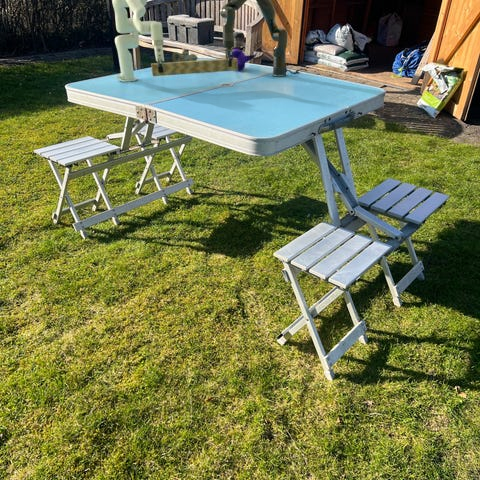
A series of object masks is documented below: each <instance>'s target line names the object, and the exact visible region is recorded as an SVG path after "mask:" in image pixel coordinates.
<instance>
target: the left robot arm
mask: <svg viewBox="0 0 480 480" xmlns="http://www.w3.org/2000/svg"><path fill="white" fill-rule="evenodd" d="M111 2H112V7H113V11H114V18H115V28H116V31H117V33H119V34H120V35H117V36H115V38H114V43H115V48H116V50H117V51H116V52H117V56H118V62H119V67H120V68H119V69H120V74H119V75H115V76H114V78H115V79H117V80H119V81H120V82H123V83H126V82H128V83H130V82H135V81H137V79H138V78H137V77H135V71H134V63H133V55H132V53H131V52H130V50H129V49H136V48H138V47H139V45H140V34H141V35H149V34H150V37H151V45H152V46H153V48H154V56H155V61H156V63H158V72H159V73H163V65H162V63H165V57H164V48H163V46H164V43H165V42H164V33H163V24H162V22H160V21H156V20H144V21H141V18H142V17H143V16H145V14H146V12H147V11H146V10H147V9H146V7H145V6H147V3H148V0H111ZM126 8H129V9H130V10H131V12H132V13H133V15H132V17H129V16H128V11H127V9H126ZM128 17H129V18H128Z"/></svg>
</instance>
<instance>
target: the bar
mask: <svg viewBox="0 0 480 480" xmlns="http://www.w3.org/2000/svg"><path fill="white" fill-rule="evenodd" d="M230 59H231V58H230ZM162 65H163V73H159V72H158V63H157V62H153V63H150V66H151V76H152V77H164V76H177V75H178V76H179V75H193V74H206V73H222V72H235V71H236V72H237V71H238V59H237V58H233V60H232V67H229V61H228V59H226V58H217V59H216V58H215V59H201V60H200V59H199V60H198V59H197V60H196V61H182V62H174V61H169V62H162Z"/></svg>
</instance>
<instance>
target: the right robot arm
mask: <svg viewBox="0 0 480 480" xmlns="http://www.w3.org/2000/svg"><path fill="white" fill-rule="evenodd" d="M247 1H248V0H230V1H229V2H227V3H226V4H224V5H223V6H222V7H221V9H220V12H219V13H220V17H221V18H222V19H224V20H225V19H226V22H224V23H223V24H222V40H223V41H222V45H223V48H224V52H225V54H224V55H225V59H228V61H229V67H232V60H233V52H232V49H233V48H235V33H234V29H235V28H234V25H235V22H236V21H235V20H236V11H238V10H240V8H241V7H242V6H244V4H245V3H246V2H247ZM255 2H256V3H257V6H258V7H259V10H260V12H261V14H262V16H263V19H264V20H265V23H266V26H267V28H268V31H269V34H270V37H271V39H272V41H273V42H276V43H277V45H276V46H275V47H273V51H272V53H273V55H272V56H273V57H272V58H273V59H272V60H273V61H272V76H273V77H276V78H277V77H279V78H280V77H286V76H287V73H288V72H290V74H299V71H306V72H309V70H307V68H300V69H296V70H295V71H293V72H292V71H291V70H290V69H288V68H287V62H286V55H287V54H286V53H287V52H286V51H287V48H288V40H289V39H288V38H289V36H288V35H289V34H288V31H287V29H286V28H279V27H278V25H277V23H276V9H275V6H274V4H273V2H272V1H271V0H255ZM230 58H231V59H230Z"/></svg>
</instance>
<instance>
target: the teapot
mask: <svg viewBox="0 0 480 480" xmlns="http://www.w3.org/2000/svg"><path fill="white" fill-rule="evenodd" d="M177 57H178V59H177ZM182 61H198V56H197V55H196V54H195V53H190V54H189V52H188V51H187V49H186V48H184V49H183V51H182V53H180V52H177V51H174V52H173V53H172V62H182Z"/></svg>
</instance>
